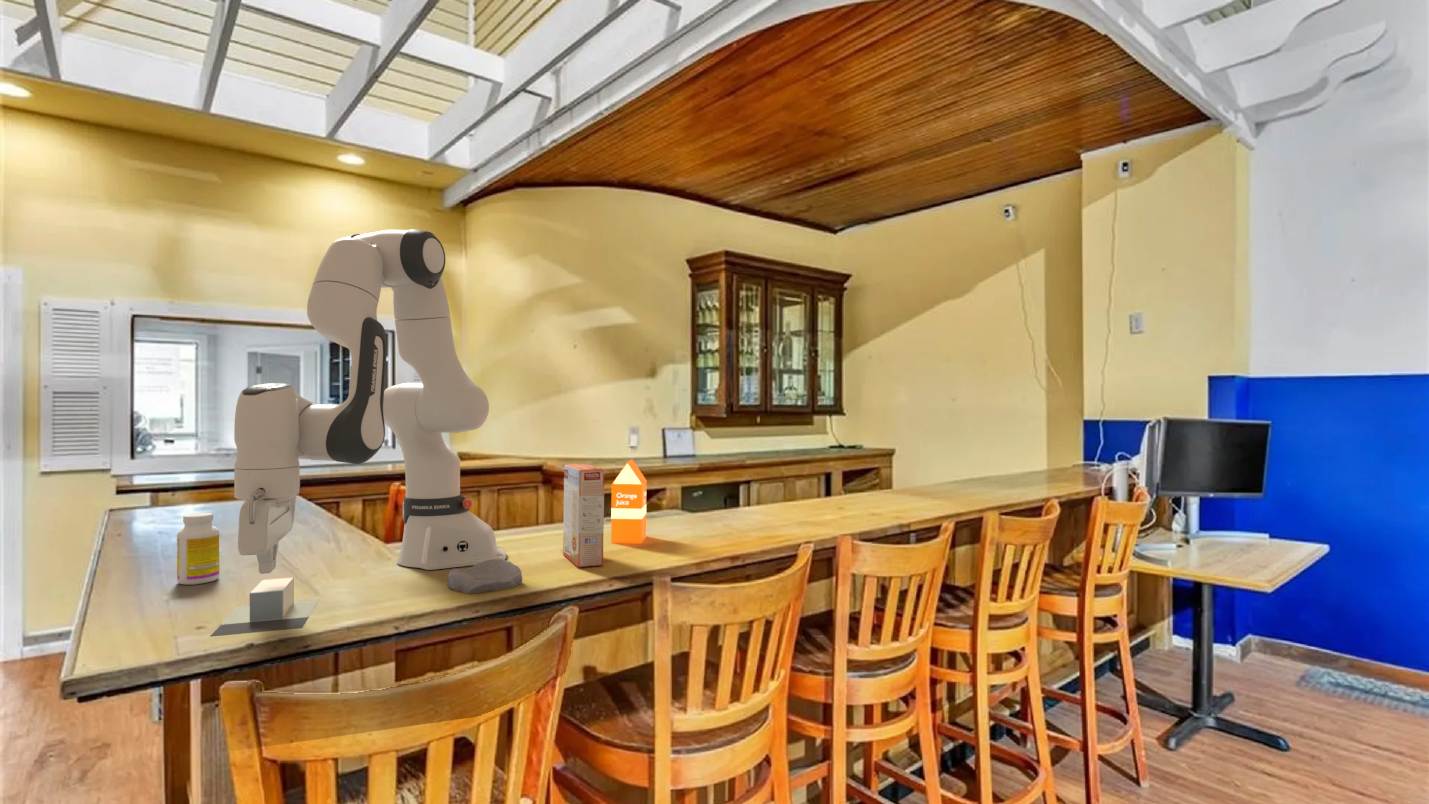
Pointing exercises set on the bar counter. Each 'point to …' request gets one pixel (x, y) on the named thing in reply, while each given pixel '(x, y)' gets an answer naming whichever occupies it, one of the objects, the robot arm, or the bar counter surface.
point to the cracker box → (583, 514)
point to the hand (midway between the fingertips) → (267, 571)
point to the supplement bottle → (197, 550)
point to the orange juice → (628, 506)
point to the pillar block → (271, 599)
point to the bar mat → (242, 624)
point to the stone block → (485, 577)
